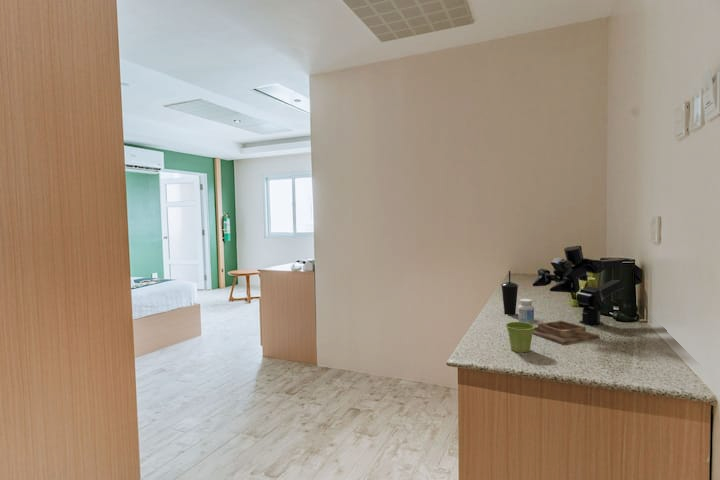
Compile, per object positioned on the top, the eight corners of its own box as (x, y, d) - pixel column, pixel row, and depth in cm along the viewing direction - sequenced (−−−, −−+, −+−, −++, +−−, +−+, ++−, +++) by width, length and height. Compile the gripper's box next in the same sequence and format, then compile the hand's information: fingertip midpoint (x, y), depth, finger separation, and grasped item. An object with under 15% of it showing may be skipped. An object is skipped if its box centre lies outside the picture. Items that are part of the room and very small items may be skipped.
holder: (560, 325, 171) (560, 317, 170) (599, 337, 154) (599, 328, 154) (525, 331, 164) (525, 322, 164) (562, 344, 147) (562, 335, 147)
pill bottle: (533, 325, 173) (533, 298, 172) (535, 329, 167) (535, 301, 166) (517, 324, 174) (517, 298, 174) (519, 328, 168) (518, 301, 168)
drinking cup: (500, 315, 190) (500, 271, 189) (501, 311, 197) (501, 269, 196) (518, 316, 187) (518, 272, 186) (518, 312, 194) (518, 270, 193)
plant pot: (532, 356, 137) (532, 330, 136) (503, 352, 142) (502, 327, 141) (537, 348, 145) (537, 323, 144) (509, 344, 150) (509, 320, 149)
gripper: (550, 252, 175) (521, 264, 171) (587, 259, 158) (556, 272, 153) (555, 276, 177) (526, 289, 173) (592, 285, 160) (561, 300, 156)
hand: (541, 287), depth 164 cm, fingers open, 9 cm apart
